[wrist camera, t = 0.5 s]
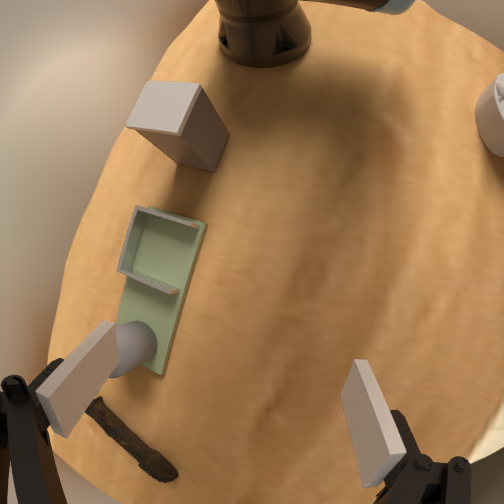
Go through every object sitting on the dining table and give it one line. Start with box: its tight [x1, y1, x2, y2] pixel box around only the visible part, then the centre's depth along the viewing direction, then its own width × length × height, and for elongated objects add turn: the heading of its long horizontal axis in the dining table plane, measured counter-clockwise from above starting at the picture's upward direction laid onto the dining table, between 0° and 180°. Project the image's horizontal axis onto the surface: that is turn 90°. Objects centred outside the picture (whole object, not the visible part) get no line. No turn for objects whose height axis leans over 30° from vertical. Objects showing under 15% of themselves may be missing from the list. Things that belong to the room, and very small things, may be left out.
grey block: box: [126, 81, 229, 172], centre depth 33 cm, size 6×7×13 cm
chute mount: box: [117, 205, 200, 294], centre depth 36 cm, size 9×8×3 cm
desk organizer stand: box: [109, 206, 208, 378], centre depth 34 cm, size 22×9×10 cm, turn 162°
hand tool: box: [85, 397, 179, 483], centre depth 36 cm, size 19×4×5 cm, turn 49°
